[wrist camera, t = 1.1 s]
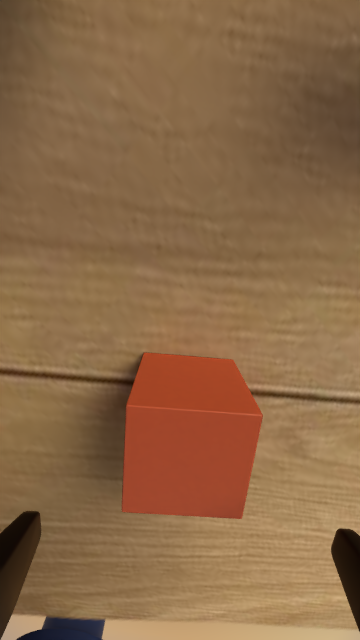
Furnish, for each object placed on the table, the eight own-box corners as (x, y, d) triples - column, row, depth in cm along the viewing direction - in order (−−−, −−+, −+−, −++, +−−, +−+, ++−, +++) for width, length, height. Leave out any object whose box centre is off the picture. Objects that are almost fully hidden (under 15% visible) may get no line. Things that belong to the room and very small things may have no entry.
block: (233, 359, 14) (263, 415, 9) (221, 435, 15) (242, 519, 10) (143, 351, 14) (125, 405, 9) (139, 429, 15) (121, 512, 10)
